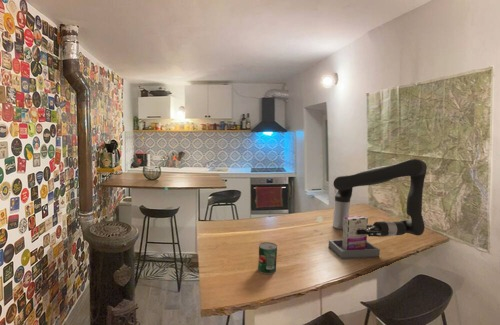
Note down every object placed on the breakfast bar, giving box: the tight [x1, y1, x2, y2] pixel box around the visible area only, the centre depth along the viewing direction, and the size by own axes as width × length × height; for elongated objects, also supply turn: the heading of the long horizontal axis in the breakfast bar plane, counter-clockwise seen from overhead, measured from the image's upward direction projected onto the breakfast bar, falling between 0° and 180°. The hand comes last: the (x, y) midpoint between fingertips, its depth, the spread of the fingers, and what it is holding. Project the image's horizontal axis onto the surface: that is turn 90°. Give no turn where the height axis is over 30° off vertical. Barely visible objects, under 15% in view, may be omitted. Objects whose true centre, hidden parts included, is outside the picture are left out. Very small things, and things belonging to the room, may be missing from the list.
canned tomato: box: [257, 241, 278, 275], centre depth 129 cm, size 8×8×11 cm
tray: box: [328, 239, 381, 260], centre depth 151 cm, size 14×20×4 cm
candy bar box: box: [342, 215, 369, 250], centre depth 150 cm, size 11×5×16 cm, turn 105°
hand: (354, 230), depth 150 cm, fingers closed on candy bar box, 5 cm apart
